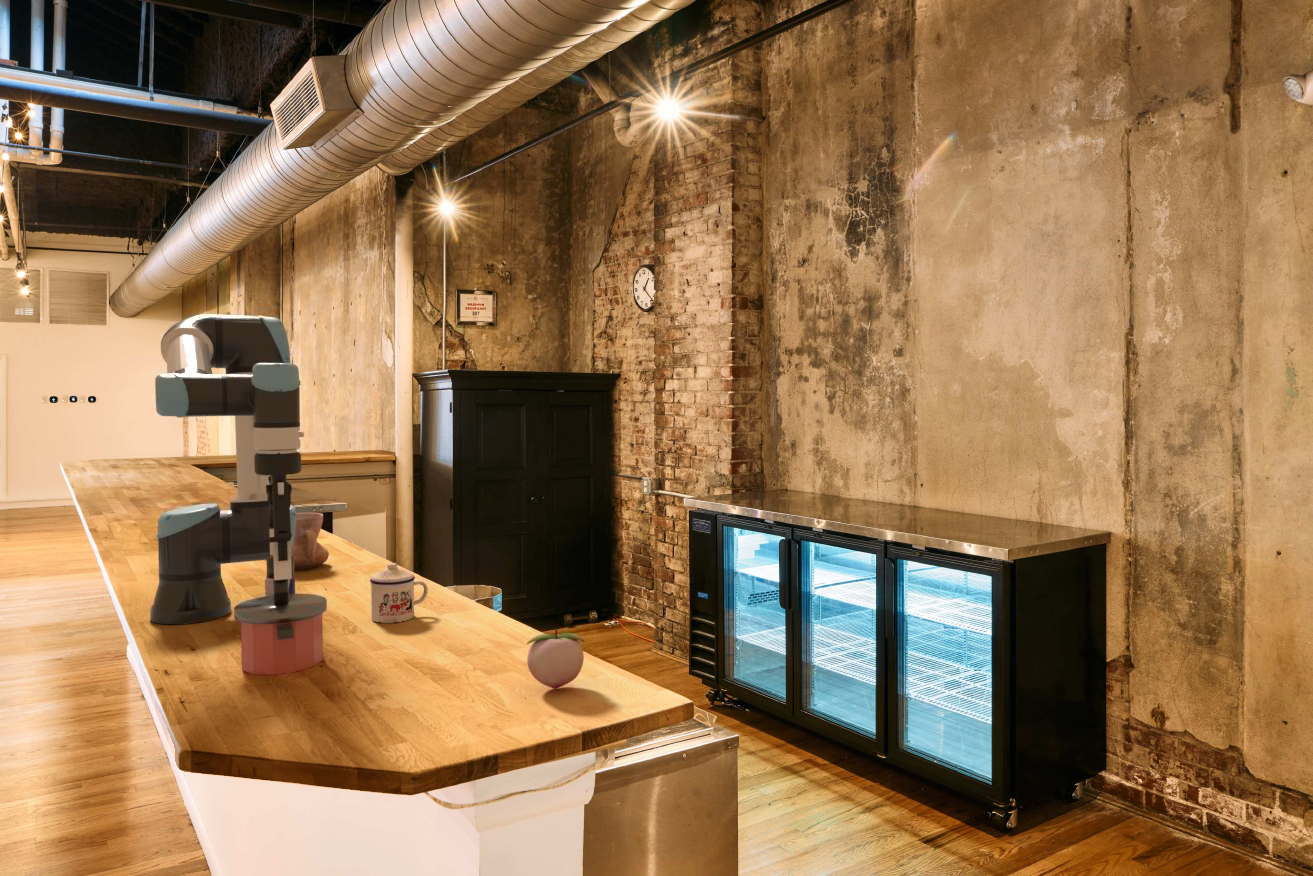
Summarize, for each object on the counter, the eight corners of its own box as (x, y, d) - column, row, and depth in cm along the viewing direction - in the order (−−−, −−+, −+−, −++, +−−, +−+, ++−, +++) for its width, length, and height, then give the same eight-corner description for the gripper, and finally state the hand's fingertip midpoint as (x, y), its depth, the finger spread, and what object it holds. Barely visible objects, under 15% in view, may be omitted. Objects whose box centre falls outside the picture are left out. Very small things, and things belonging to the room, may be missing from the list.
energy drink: (302, 633, 169) (300, 573, 168) (282, 641, 164) (280, 579, 163) (280, 630, 171) (279, 571, 170) (260, 638, 166) (258, 577, 165)
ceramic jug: (263, 565, 233) (261, 514, 232) (317, 559, 242) (316, 509, 241) (282, 577, 219) (281, 522, 218) (339, 569, 228) (338, 517, 227)
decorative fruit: (535, 702, 132) (535, 639, 132) (522, 685, 140) (522, 625, 139) (593, 694, 136) (592, 632, 135) (576, 677, 144) (576, 619, 143)
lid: (214, 619, 146) (212, 561, 145) (278, 598, 160) (276, 546, 160) (285, 627, 141) (284, 567, 141) (344, 605, 156) (343, 551, 155)
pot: (328, 674, 145) (327, 622, 144) (243, 686, 139) (241, 632, 138) (316, 641, 164) (315, 595, 163) (241, 650, 158) (239, 602, 157)
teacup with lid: (376, 626, 174) (375, 570, 173) (365, 616, 182) (364, 562, 181) (434, 618, 180) (433, 563, 180) (421, 608, 188) (420, 556, 187)
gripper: (307, 456, 140) (309, 583, 141) (295, 445, 162) (298, 556, 163) (256, 458, 136) (259, 588, 138) (252, 446, 158) (254, 559, 160)
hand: (280, 571), depth 150 cm, fingers open, 13 cm apart
